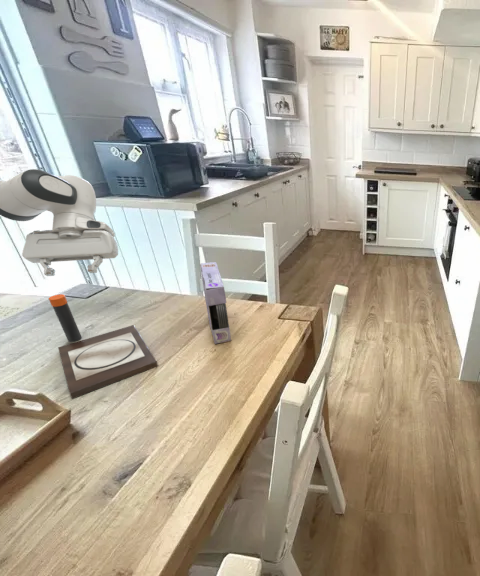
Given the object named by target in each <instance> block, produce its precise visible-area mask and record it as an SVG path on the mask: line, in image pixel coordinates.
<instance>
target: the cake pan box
mask: <svg viewBox="0 0 480 576" xmlns="http://www.w3.org/2000/svg"><path fill="white" fill-rule="evenodd" d="M199 266H200V274H201V275H200V276H201V280H202V286H203V287H202V289H203V294H204V301H205V306H206V311H207V319H208V322H209V327H210V331H211V335H212V339H213V343H214V345H219V344H223V343H227V342H232V334H231V329H230V324H229V316H228V310H227V297H226V291H225V286H224V282H223V279H222V276H221V273H220V270H219V266H218V264H217V262H216V261H215V262H213V261H212V262H211V261H210V262H202V263H200V264H199Z"/></svg>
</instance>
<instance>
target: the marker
mask: <svg viewBox="0 0 480 576" xmlns="http://www.w3.org/2000/svg"><path fill="white" fill-rule="evenodd" d="M48 301H49V303H50V305H51V307H52V308H53V310H54V313H55V315H56V318H57V321H58V322H59V324H60V326H61V328H62V330H63V333H64V335H65V337H66V339H67V341H68V343H74V342H78V341H81V339H82V337H83V336H82V334H81V332H80V329H79V327H78V325H77V322H76V319H75V318H74V315H73V313H72V310H71V308H70V306H69V304H68V300H67V298H66V295H65V294H63V293H62V294H61V293H59V294H55V295H51V296H49V297H48Z"/></svg>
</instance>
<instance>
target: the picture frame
mask: <svg viewBox="0 0 480 576" xmlns="http://www.w3.org/2000/svg"><path fill="white" fill-rule="evenodd" d="M57 349H58V353H59V357H60V361H61V365H62V369H63V372H64V377H65V381H66V384H67V387H68V392H69V395H70V398H71V399H76V398H79V397H81V396H83V395H86V394H89V393H91V392H94V391H97V390H99V389H102V388H104V387H106V386H107V387H108V386H109V385H112V384H115V383H118V382H120V381H123V380H125V379H128V378H130V377H133V376H136V375H139V374H141V373H143V372H146V371H149V370H151V369H154V368H157V367H159V365H158V361H157V359H156V358H155V357H154V355H153V353H152V352H151V350H150V348H149V347H148V345H147V344H146V341H144V338H142V336H141V334H140V332H139V330H138V329H137V328H136V326H135V325H134V324H132V325H129V326H126V327H122V328H119V329H115V330H112V331H108V332H105V333H102V334H99V335H95V336H91V337H87V338H85V339H82V340H81V339H80V340H78V341H75V342H70V343H68V344H64V345H61V346H58V347H57Z"/></svg>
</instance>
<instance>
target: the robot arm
mask: <svg viewBox="0 0 480 576" xmlns="http://www.w3.org/2000/svg"><path fill="white" fill-rule="evenodd" d="M96 211H97V196H96V191H95V189H94V187H93V185H92V184H91V183H90V182H89V181H88V180H86V179H84V178H83V177H80V176H77V175H71V174H68V175H67V174H66V175H57V174H52V173H50V172H48V171H45V170H42V169H37V168H35V169H34V168H32V169H27V170H25V171H23V172H20V173H19V174H16V175H14V176H13V177H12V178H11V179H9V180H3V179H0V216H1V217H3V218H5V219H8V220H11V221H15V222H29V221H31V220H34V219H36V217H38V216H39V215H41V214H42V213H44V212H50V213H52V215H53V219H52V229H46V230H45V229H44V230H40V229H39V230H33V231H32V232H30V233H28V234H26V237H25V241H24V245H23V249H22V253H21V257H23V258H24V259H25V260H27V261H28V262H30V263H33V264H40V265H41V267H42V268H43V274H44V276H46V277H54V276H56V269H54V268H53V267H50V266H51V265H52V263H55V262H57V263H58V262H73V261H89V260H90V261H91V260H94V261H93V262H92V263H91V264H89V265H87V272H88V273H89V274H96V273H98V268H99V267H100V266H101V264H102V263H103V261H104V260H107V259H115V258H117V257H118V256H119V245H118V241H117V239H116V238H115V237H116V233H115V231H114V229H112V228H111V227H110V226H109V225H108V224H107V223H105V222H104V221H101V220H95V214H96Z"/></svg>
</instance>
